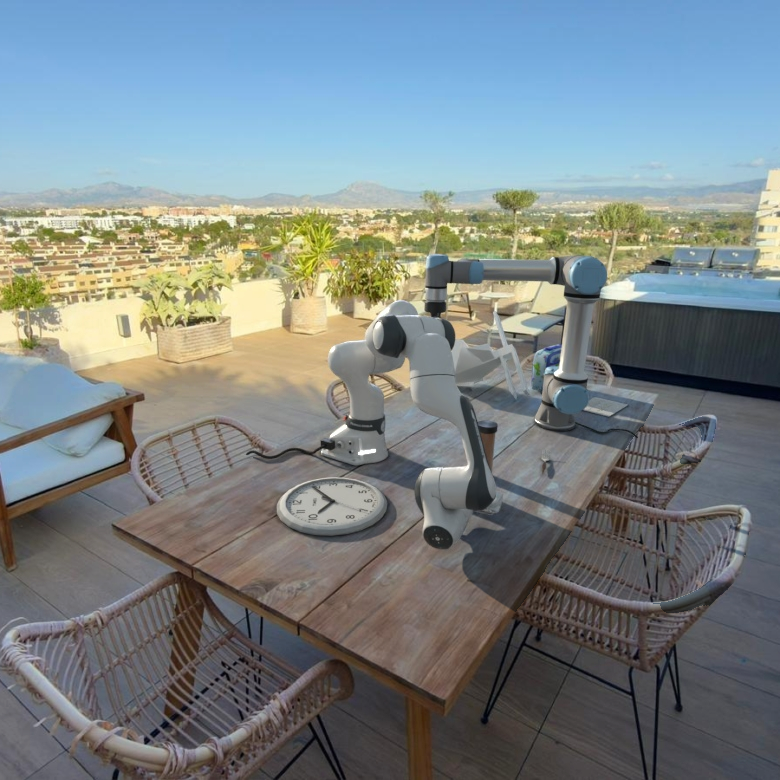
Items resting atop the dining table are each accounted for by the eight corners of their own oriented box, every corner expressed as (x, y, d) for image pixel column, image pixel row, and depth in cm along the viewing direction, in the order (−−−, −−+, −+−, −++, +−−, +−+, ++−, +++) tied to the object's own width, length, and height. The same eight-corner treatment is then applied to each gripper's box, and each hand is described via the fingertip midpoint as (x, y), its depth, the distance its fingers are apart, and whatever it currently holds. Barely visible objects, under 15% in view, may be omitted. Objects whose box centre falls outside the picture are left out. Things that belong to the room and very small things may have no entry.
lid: (494, 435, 153) (494, 428, 152) (474, 431, 155) (474, 425, 155) (499, 428, 158) (499, 422, 157) (479, 425, 161) (480, 418, 160)
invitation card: (608, 416, 214) (573, 407, 224) (608, 416, 214) (573, 408, 224) (628, 404, 229) (594, 396, 238) (628, 405, 229) (594, 397, 238)
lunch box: (547, 397, 237) (552, 352, 231) (526, 391, 245) (531, 348, 238) (574, 386, 255) (580, 344, 249) (554, 381, 262) (559, 340, 256)
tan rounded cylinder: (489, 481, 158) (493, 429, 153) (472, 477, 160) (476, 426, 155) (493, 474, 162) (497, 423, 157) (477, 471, 164) (481, 421, 159)
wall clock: (392, 527, 129) (268, 531, 127) (391, 533, 130) (269, 537, 127) (383, 473, 158) (282, 475, 155) (383, 478, 158) (282, 480, 156)
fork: (538, 474, 162) (538, 468, 162) (542, 454, 177) (542, 449, 176) (546, 475, 162) (547, 470, 161) (550, 455, 176) (550, 450, 175)
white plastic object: (461, 429, 252) (437, 405, 227) (444, 352, 274) (420, 323, 250) (535, 404, 240) (518, 377, 215) (510, 326, 262) (492, 293, 237)
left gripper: (498, 503, 127) (508, 479, 139) (419, 486, 134) (435, 464, 146) (496, 526, 129) (506, 500, 141) (418, 508, 136) (434, 484, 148)
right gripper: (429, 295, 194) (427, 351, 200) (419, 304, 170) (417, 367, 177) (450, 296, 192) (447, 352, 199) (442, 305, 169) (439, 369, 175)
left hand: (469, 481), depth 144 cm, fingers open, 8 cm apart
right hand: (433, 360), depth 188 cm, fingers open, 13 cm apart
